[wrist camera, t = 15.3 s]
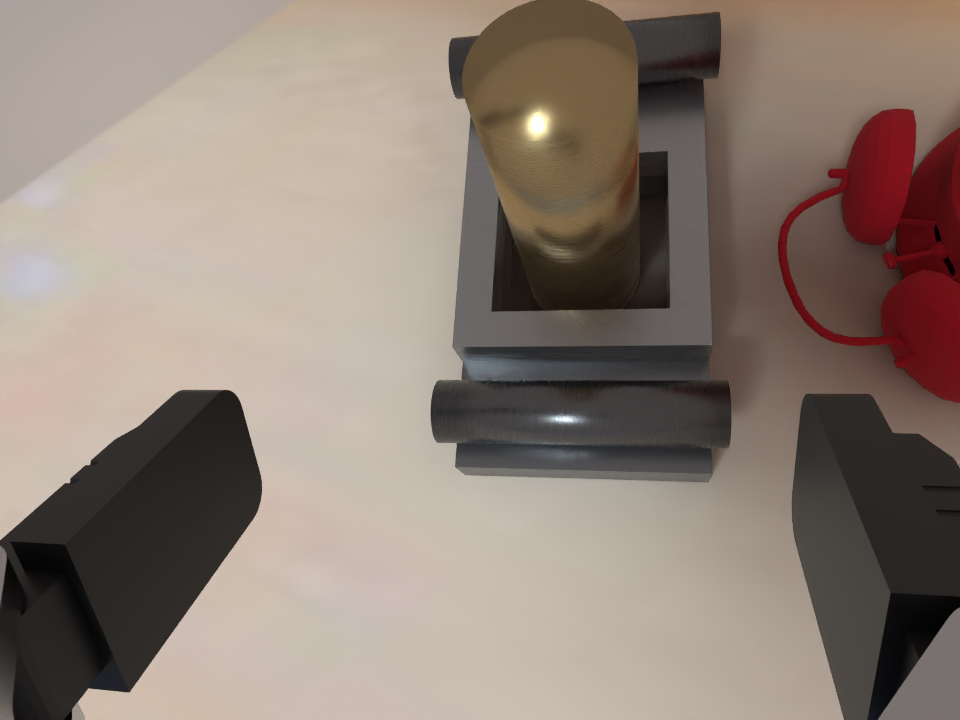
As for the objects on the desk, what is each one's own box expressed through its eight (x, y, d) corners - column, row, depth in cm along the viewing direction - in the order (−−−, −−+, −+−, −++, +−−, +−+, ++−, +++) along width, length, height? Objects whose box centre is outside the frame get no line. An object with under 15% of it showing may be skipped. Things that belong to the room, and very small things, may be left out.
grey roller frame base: (454, 474, 26) (412, 443, 21) (481, 102, 30) (452, 10, 26) (721, 482, 24) (739, 450, 19) (706, 85, 29) (718, -18, 24)
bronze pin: (526, 325, 27) (455, 149, 17) (531, 226, 28) (468, 6, 18) (640, 323, 26) (637, 137, 16) (640, 221, 27) (637, -12, 17)
